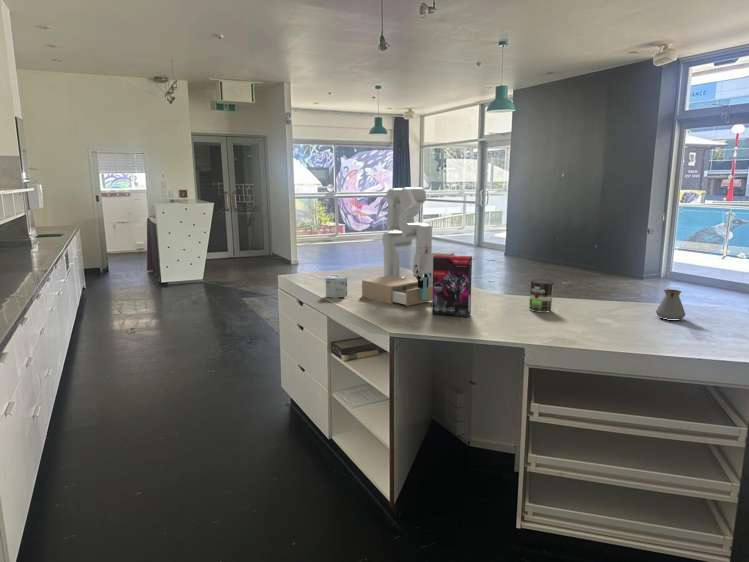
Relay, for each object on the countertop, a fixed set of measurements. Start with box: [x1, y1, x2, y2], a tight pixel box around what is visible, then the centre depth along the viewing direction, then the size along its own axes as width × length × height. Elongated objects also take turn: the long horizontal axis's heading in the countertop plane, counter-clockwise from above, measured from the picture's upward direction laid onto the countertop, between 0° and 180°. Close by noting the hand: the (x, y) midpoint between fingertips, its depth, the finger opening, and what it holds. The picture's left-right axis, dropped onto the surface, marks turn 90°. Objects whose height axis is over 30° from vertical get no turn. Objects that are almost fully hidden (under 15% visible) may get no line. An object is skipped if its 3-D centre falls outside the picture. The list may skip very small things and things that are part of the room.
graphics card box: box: [431, 254, 473, 318], centre depth 234 cm, size 17×7×27 cm, turn 70°
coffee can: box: [528, 278, 554, 312], centre depth 243 cm, size 10×10×14 cm
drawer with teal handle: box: [392, 276, 433, 307], centre depth 260 cm, size 19×24×13 cm
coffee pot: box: [655, 288, 686, 320], centre depth 224 cm, size 21×12×15 cm, turn 148°
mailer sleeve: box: [361, 275, 418, 305], centre depth 270 cm, size 20×22×9 cm
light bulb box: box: [325, 275, 348, 298], centre depth 272 cm, size 11×7×11 cm, turn 84°
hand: (423, 287), depth 252 cm, fingers closed on drawer with teal handle, 3 cm apart
